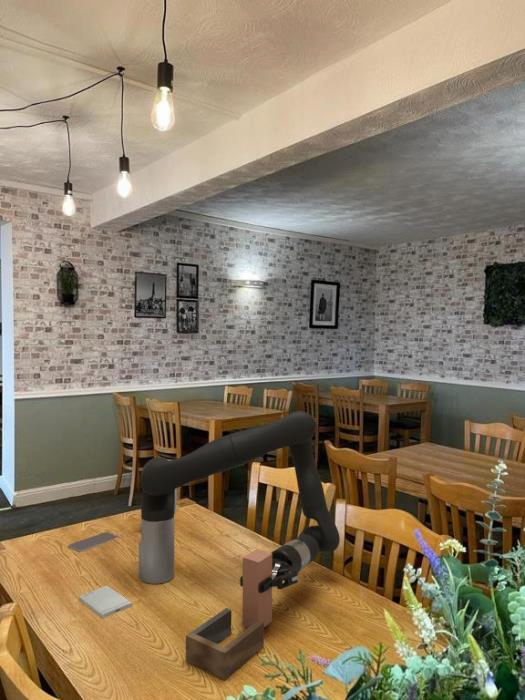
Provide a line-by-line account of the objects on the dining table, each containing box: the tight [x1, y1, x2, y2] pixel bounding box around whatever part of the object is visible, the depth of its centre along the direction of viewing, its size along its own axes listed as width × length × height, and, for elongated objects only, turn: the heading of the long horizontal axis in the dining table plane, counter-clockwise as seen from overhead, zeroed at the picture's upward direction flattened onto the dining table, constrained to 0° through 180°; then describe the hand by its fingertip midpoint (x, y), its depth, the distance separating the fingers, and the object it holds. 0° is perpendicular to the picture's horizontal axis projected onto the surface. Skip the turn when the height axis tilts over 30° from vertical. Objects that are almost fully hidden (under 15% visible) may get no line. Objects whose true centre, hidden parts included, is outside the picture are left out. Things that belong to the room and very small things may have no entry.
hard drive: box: [78, 585, 133, 619], centre depth 132 cm, size 2×8×12 cm
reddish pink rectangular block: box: [241, 549, 273, 629], centre depth 121 cm, size 4×6×16 cm
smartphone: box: [67, 531, 119, 553], centre depth 171 cm, size 7×1×15 cm
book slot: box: [185, 607, 265, 681], centre depth 111 cm, size 10×14×6 cm
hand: (250, 585), depth 118 cm, fingers closed on reddish pink rectangular block, 4 cm apart
